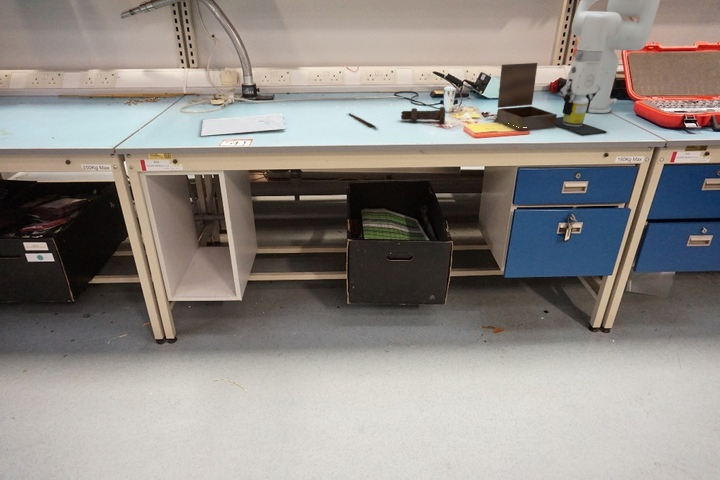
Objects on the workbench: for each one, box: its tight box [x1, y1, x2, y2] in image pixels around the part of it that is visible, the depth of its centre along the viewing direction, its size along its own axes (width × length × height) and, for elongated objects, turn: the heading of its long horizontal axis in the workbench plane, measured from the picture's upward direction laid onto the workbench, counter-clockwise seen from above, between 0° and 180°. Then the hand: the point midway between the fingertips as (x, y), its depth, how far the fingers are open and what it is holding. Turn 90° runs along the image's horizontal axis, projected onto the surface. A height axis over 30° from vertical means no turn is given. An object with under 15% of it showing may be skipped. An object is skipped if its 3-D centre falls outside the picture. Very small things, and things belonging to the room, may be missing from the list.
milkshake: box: [442, 85, 459, 113], centre depth 170 cm, size 4×5×10 cm
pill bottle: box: [563, 94, 588, 127], centre depth 151 cm, size 6×6×12 cm
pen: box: [348, 112, 377, 130], centre depth 158 cm, size 1×1×23 cm
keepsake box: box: [495, 105, 558, 132], centre depth 155 cm, size 13×14×4 cm
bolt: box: [400, 106, 446, 125], centre depth 157 cm, size 6×5×15 cm
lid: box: [497, 62, 538, 109], centre depth 159 cm, size 14×14×6 cm
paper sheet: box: [200, 112, 286, 137], centre depth 152 cm, size 24×29×1 cm
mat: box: [554, 116, 607, 137], centre depth 154 cm, size 10×20×1 cm, turn 21°
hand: (575, 112), depth 152 cm, fingers closed on pill bottle, 6 cm apart
